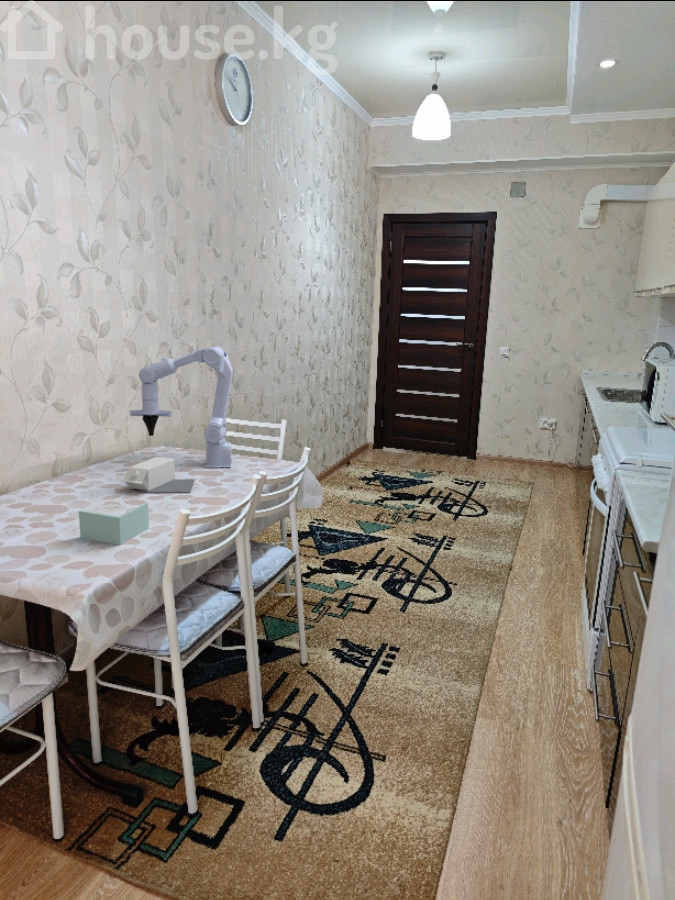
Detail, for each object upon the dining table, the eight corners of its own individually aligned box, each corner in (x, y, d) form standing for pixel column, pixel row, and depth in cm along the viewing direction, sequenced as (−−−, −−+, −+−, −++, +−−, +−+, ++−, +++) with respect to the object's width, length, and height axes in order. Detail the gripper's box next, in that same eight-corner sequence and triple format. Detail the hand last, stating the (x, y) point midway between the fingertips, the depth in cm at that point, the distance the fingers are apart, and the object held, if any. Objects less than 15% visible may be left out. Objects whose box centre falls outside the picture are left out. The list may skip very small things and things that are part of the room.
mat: (194, 480, 203) (194, 479, 203) (190, 493, 190) (190, 491, 190) (146, 480, 201) (146, 479, 201) (138, 493, 188) (138, 492, 187)
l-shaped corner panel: (148, 529, 159) (147, 503, 157) (120, 546, 148) (119, 517, 146) (110, 523, 162) (109, 497, 161) (80, 538, 151) (78, 511, 150)
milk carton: (175, 479, 203) (140, 494, 185) (157, 476, 205) (121, 491, 187) (174, 459, 201) (140, 472, 183) (156, 456, 203) (120, 469, 186)
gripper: (171, 398, 223) (172, 433, 226) (131, 397, 221) (133, 432, 224) (169, 400, 216) (170, 437, 219) (127, 400, 214) (129, 436, 217)
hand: (151, 435), depth 221 cm, fingers closed
